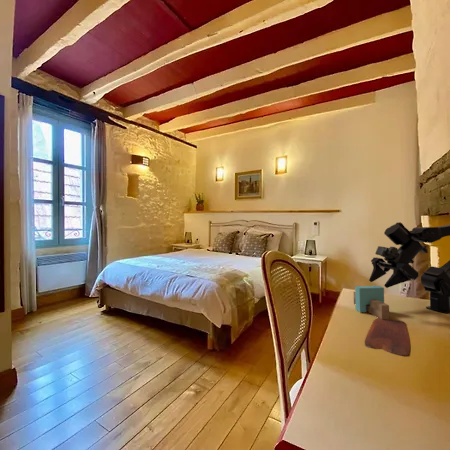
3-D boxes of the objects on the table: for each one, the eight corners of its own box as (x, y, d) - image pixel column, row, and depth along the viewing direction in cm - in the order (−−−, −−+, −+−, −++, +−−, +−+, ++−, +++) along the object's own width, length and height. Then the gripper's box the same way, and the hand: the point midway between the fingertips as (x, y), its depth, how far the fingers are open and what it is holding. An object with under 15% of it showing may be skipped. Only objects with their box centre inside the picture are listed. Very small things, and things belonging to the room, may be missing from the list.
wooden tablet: (410, 360, 60) (410, 353, 60) (363, 348, 66) (363, 342, 66) (409, 324, 82) (409, 319, 82) (374, 318, 88) (374, 313, 88)
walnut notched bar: (353, 303, 102) (353, 291, 102) (359, 303, 102) (359, 291, 102) (381, 320, 84) (381, 305, 84) (389, 320, 84) (389, 305, 84)
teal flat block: (379, 309, 95) (378, 285, 95) (384, 312, 92) (383, 287, 92) (355, 310, 95) (355, 286, 95) (360, 312, 92) (359, 288, 92)
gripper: (374, 237, 103) (349, 265, 103) (408, 240, 84) (377, 273, 84) (394, 256, 103) (368, 283, 103) (432, 262, 84) (401, 296, 84)
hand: (377, 283), depth 93 cm, fingers open, 9 cm apart
